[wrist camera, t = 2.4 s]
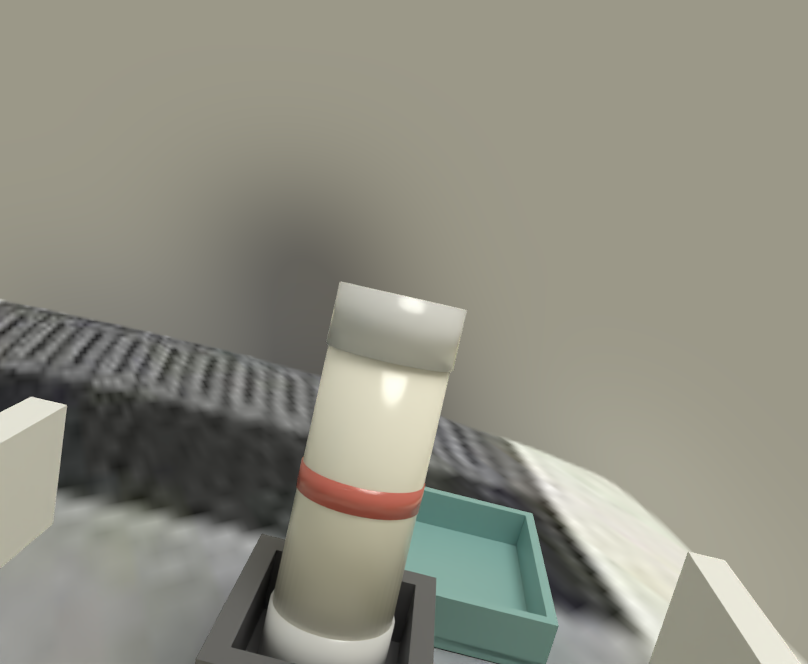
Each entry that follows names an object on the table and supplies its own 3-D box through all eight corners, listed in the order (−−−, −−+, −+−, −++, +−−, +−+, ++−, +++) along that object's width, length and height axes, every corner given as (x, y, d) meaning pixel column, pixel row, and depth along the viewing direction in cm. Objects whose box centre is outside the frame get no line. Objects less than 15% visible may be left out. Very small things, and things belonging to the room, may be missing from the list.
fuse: (243, 687, 25) (332, 279, 24) (271, 621, 30) (346, 282, 29) (378, 718, 25) (473, 311, 24) (384, 647, 30) (461, 309, 29)
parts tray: (323, 619, 33) (335, 570, 33) (354, 510, 44) (364, 471, 43) (542, 674, 33) (558, 626, 33) (520, 551, 44) (532, 513, 43)
